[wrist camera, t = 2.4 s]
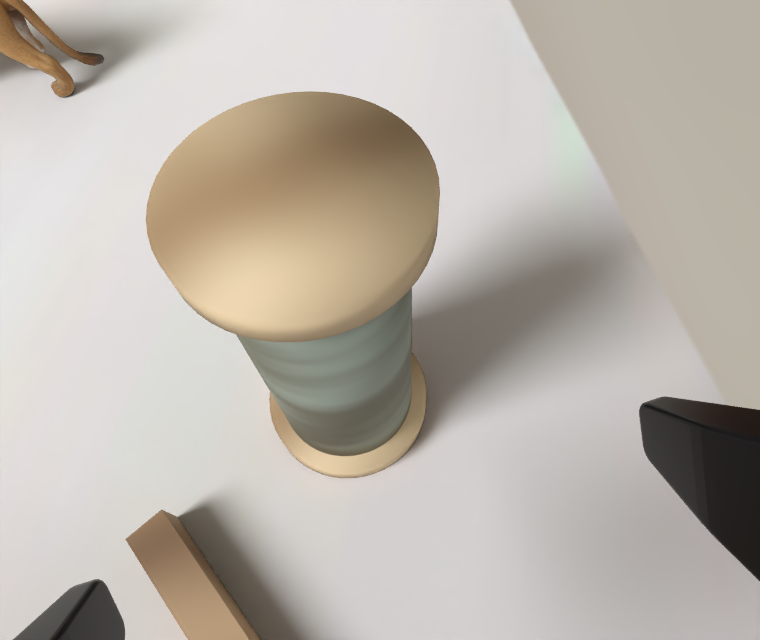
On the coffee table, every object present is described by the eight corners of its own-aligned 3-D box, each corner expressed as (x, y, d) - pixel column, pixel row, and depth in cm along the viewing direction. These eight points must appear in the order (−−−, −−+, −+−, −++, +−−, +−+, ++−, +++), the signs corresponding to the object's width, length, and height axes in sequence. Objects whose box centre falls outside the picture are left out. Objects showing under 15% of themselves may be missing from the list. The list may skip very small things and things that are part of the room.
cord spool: (457, 405, 23) (502, 192, 12) (340, 513, 21) (260, 383, 10) (357, 308, 26) (315, 56, 14) (244, 398, 24) (93, 189, 12)
